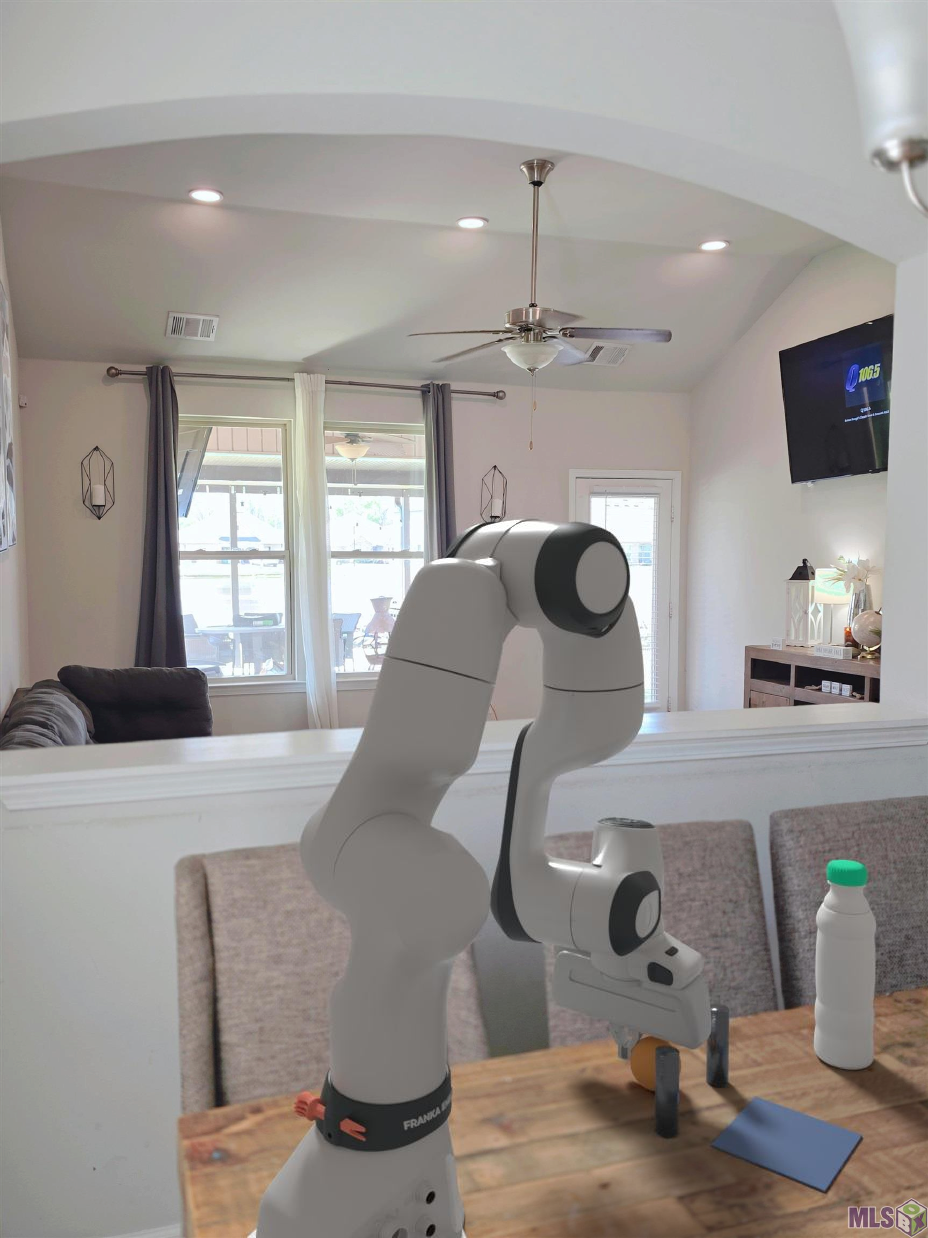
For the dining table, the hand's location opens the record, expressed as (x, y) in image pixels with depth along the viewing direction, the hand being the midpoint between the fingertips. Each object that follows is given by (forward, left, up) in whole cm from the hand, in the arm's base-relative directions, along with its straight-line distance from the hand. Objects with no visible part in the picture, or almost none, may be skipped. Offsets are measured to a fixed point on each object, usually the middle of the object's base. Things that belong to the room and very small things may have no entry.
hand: (628, 1058), depth 115 cm
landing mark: (-1, -20, -2) cm, 20 cm away
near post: (-8, -9, -2) cm, 12 cm away
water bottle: (+21, -19, -2) cm, 29 cm away
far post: (+6, -9, -2) cm, 11 cm away
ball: (0, -4, +1) cm, 4 cm away
